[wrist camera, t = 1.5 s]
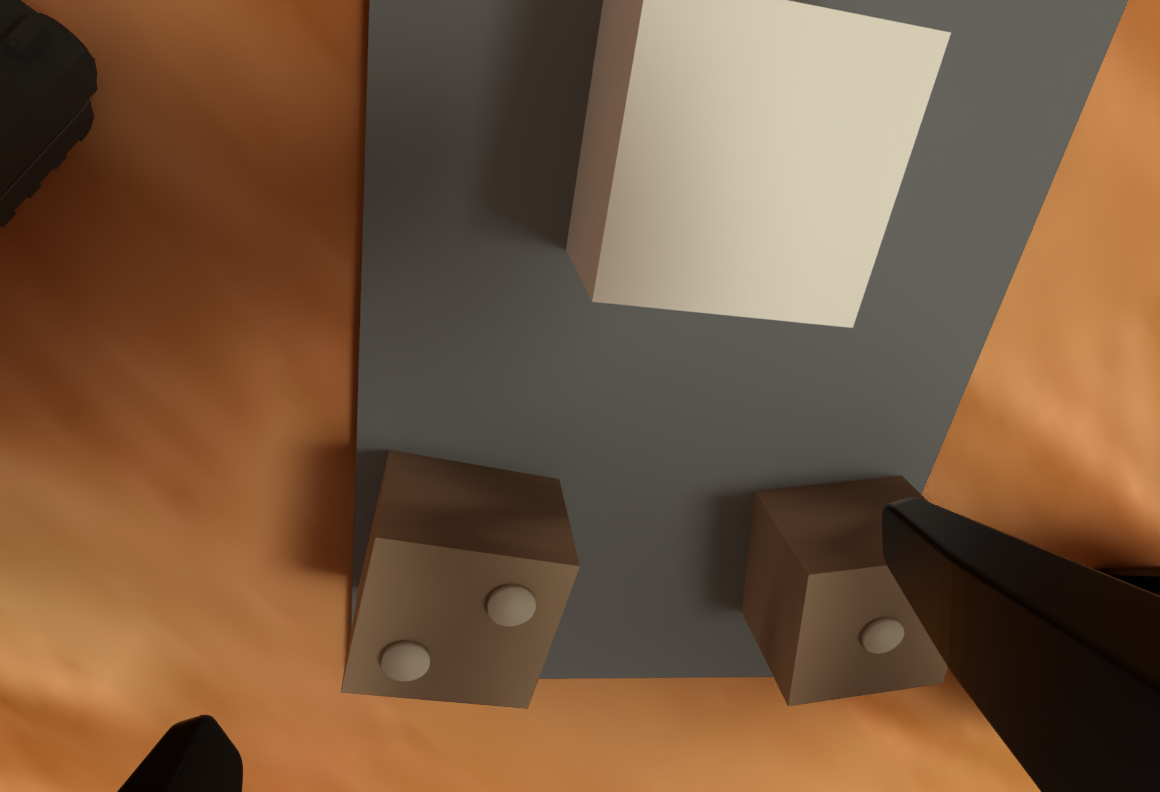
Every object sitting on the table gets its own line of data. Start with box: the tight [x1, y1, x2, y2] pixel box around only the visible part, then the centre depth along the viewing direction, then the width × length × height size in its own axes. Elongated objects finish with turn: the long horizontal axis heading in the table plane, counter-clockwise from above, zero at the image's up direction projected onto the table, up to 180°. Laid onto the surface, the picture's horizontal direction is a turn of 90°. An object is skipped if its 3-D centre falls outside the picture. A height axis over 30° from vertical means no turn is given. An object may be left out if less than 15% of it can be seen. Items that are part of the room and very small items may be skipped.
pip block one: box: [742, 476, 948, 706], centre depth 23 cm, size 5×5×4 cm
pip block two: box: [341, 450, 580, 709], centre depth 20 cm, size 5×5×4 cm
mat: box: [351, 0, 1128, 679], centre depth 21 cm, size 18×26×1 cm
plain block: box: [566, 0, 951, 328], centre depth 16 cm, size 6×6×4 cm
